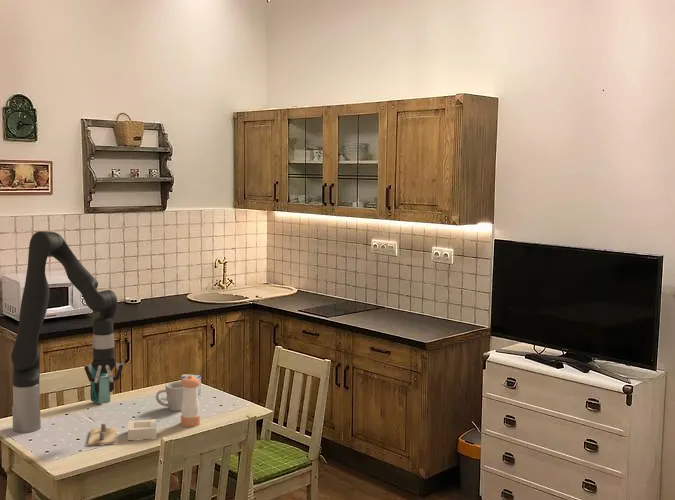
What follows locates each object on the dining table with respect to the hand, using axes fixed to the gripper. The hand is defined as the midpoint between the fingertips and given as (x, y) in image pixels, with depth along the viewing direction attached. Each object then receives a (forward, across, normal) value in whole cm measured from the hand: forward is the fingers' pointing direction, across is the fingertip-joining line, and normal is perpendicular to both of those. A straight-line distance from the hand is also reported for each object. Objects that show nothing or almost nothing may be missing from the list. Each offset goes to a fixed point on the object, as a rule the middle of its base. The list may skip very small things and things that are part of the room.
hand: (104, 391), depth 271 cm
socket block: (+17, -13, 0) cm, 22 cm away
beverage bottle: (+18, +5, -41) cm, 45 cm away
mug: (+18, -25, -28) cm, 42 cm away
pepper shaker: (+18, -31, -9) cm, 37 cm away
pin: (+4, 0, 0) cm, 4 cm away
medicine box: (+18, -33, -46) cm, 59 cm away
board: (+17, +1, 0) cm, 17 cm away
